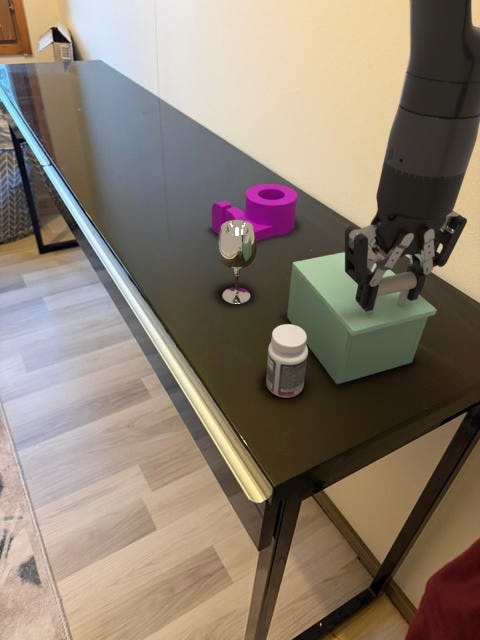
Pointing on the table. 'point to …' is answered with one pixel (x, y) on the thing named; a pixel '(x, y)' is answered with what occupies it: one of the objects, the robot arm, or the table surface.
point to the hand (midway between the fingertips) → (387, 301)
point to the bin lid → (341, 292)
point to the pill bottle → (287, 361)
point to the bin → (349, 337)
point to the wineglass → (236, 254)
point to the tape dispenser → (261, 211)
